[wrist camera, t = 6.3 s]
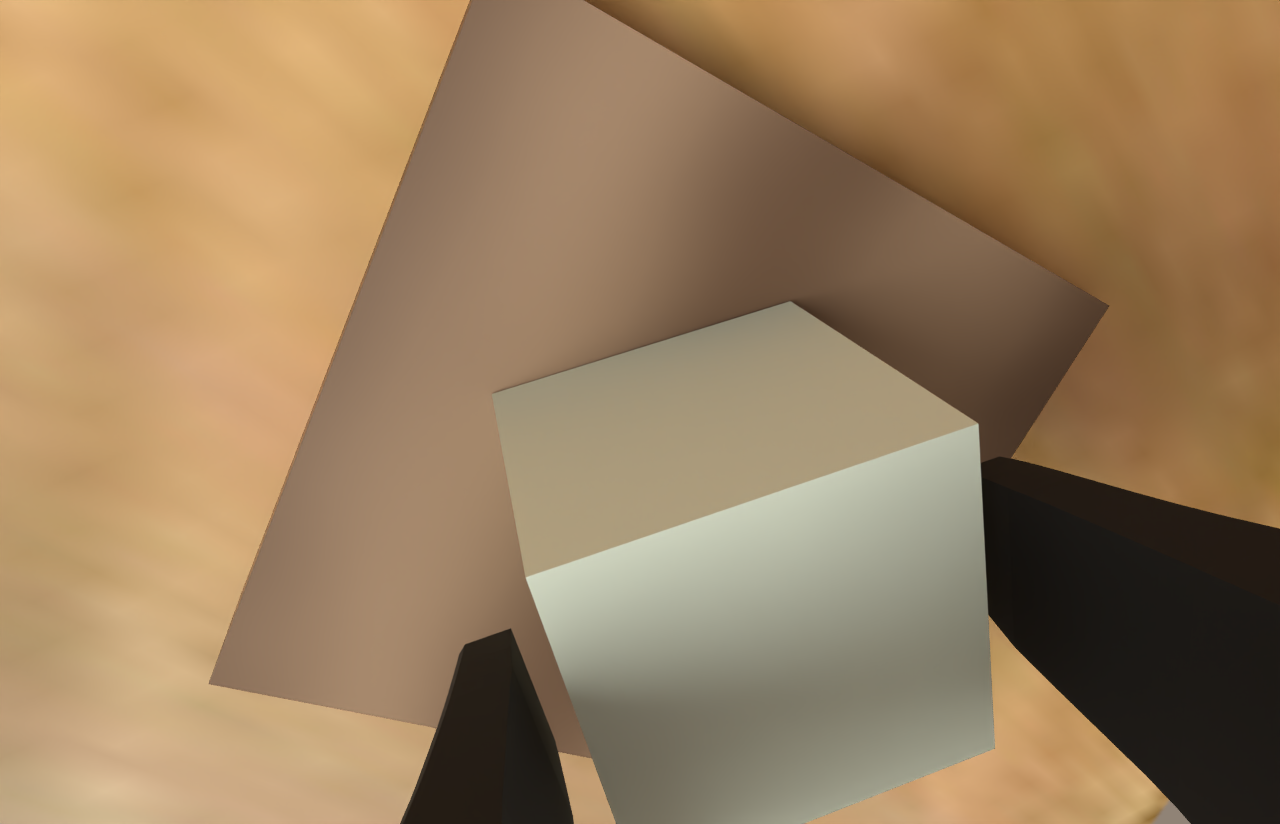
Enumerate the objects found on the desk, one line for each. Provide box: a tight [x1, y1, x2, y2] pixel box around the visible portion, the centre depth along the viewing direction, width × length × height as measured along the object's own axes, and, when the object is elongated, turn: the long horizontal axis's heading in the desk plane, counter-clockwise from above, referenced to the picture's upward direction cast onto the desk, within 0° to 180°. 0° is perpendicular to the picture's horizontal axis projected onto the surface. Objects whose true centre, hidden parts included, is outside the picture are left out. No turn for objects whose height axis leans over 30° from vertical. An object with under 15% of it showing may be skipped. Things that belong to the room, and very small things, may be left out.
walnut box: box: [209, 0, 1109, 758], centre depth 15 cm, size 12×12×3 cm
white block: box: [492, 301, 995, 824], centre depth 12 cm, size 5×5×5 cm
